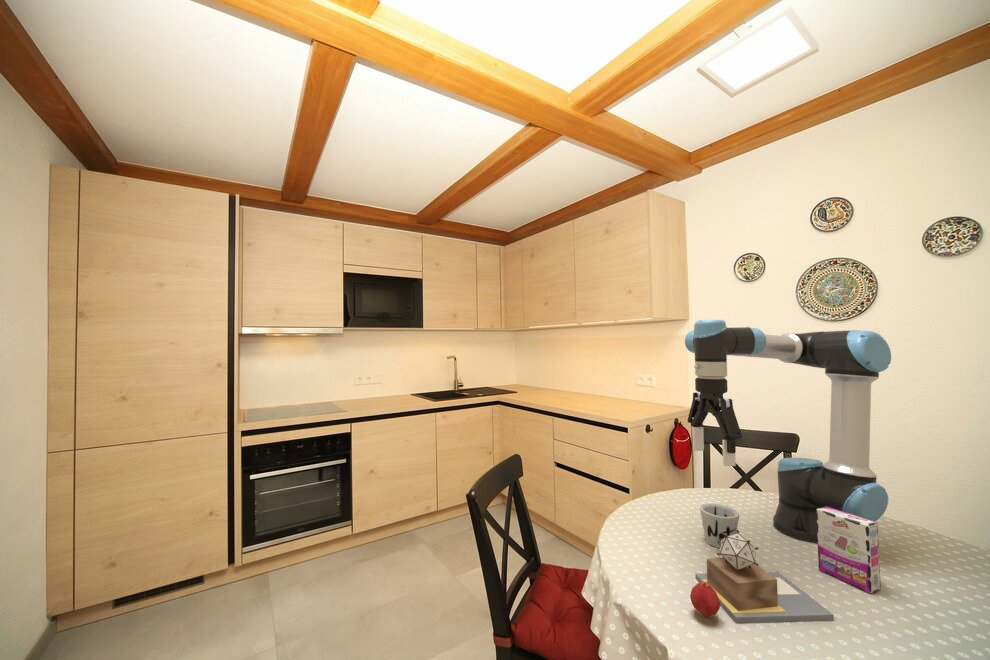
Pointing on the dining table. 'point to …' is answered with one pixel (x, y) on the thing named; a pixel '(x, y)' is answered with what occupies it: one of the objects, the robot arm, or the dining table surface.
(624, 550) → the dining table surface
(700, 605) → the red oval piece
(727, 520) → the mug
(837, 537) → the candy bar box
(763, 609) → the board
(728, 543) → the game die
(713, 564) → the walnut slab
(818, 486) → the robot arm
